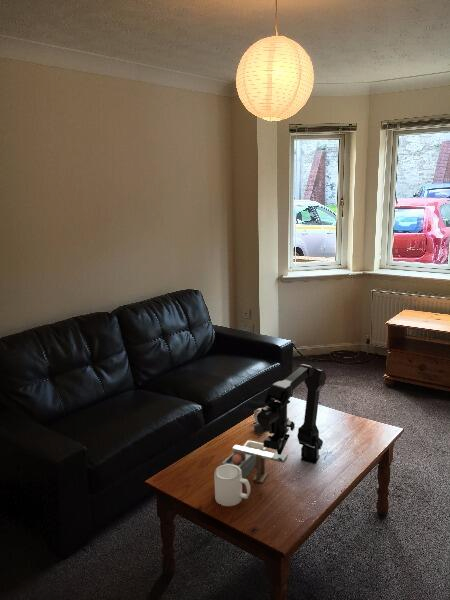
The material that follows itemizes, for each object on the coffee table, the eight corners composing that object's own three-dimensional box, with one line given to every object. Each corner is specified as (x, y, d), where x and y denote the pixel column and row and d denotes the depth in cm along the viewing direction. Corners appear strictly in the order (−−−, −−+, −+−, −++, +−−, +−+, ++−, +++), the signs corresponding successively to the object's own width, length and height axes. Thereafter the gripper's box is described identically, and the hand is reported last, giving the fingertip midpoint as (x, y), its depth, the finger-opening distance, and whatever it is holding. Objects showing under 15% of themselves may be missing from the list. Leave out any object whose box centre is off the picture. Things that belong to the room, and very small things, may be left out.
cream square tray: (268, 451, 207) (268, 444, 207) (259, 463, 199) (259, 455, 198) (248, 447, 212) (248, 440, 211) (239, 458, 203) (239, 450, 203)
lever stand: (268, 474, 191) (268, 449, 188) (262, 483, 185) (261, 457, 183) (259, 472, 193) (258, 447, 190) (252, 480, 187) (252, 455, 185)
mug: (254, 493, 179) (254, 468, 177) (245, 510, 170) (245, 484, 167) (221, 486, 184) (220, 462, 182) (210, 502, 175) (209, 477, 172)
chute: (257, 462, 200) (257, 444, 198) (239, 486, 184) (239, 467, 182) (241, 458, 203) (241, 440, 201) (222, 481, 187) (221, 463, 185)
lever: (287, 467, 185) (287, 454, 184) (283, 474, 181) (283, 460, 180) (236, 455, 195) (236, 442, 194) (231, 461, 191) (231, 448, 189)
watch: (264, 435, 221) (264, 413, 219) (251, 430, 227) (251, 408, 224) (272, 431, 225) (271, 409, 223) (258, 425, 231) (258, 404, 228)
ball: (243, 463, 190) (243, 453, 190) (239, 466, 187) (239, 457, 186) (234, 460, 192) (234, 451, 192) (230, 464, 188) (230, 454, 188)
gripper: (268, 403, 191) (268, 438, 194) (250, 423, 175) (250, 461, 178) (295, 408, 186) (294, 444, 190) (278, 429, 170) (278, 468, 173)
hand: (279, 454), depth 183 cm, fingers closed
